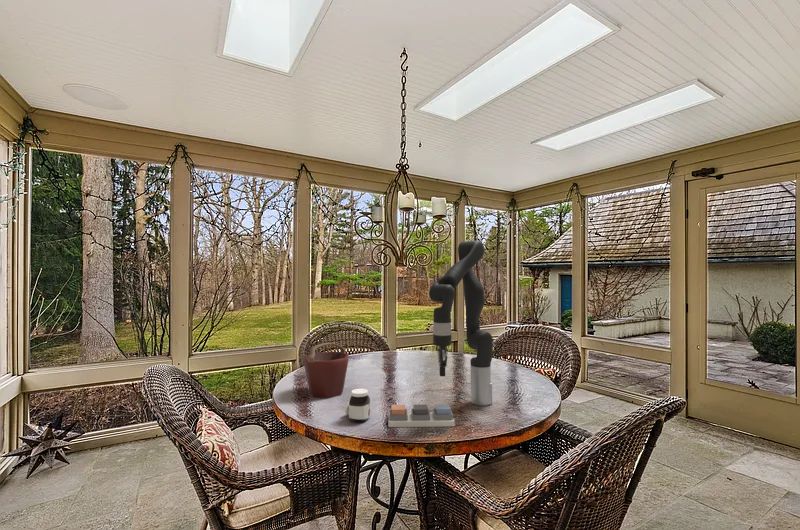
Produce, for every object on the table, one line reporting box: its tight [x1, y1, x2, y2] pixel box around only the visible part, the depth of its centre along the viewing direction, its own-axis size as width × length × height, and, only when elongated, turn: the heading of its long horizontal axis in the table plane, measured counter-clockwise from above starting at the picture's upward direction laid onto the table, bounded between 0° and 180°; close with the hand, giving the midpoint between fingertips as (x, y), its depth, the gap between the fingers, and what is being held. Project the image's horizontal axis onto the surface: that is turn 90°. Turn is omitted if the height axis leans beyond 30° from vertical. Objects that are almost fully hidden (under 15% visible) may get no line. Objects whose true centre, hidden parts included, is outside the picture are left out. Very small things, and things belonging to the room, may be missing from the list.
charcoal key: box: [412, 404, 429, 415], centre depth 156 cm, size 6×6×2 cm
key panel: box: [387, 408, 456, 428], centre depth 156 cm, size 26×10×4 cm, turn 91°
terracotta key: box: [391, 404, 407, 415], centre depth 156 cm, size 6×6×2 cm
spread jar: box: [343, 388, 371, 423], centre depth 161 cm, size 12×11×12 cm
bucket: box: [303, 342, 350, 399], centre depth 194 cm, size 24×22×25 cm
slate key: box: [434, 403, 452, 415], centre depth 156 cm, size 6×6×2 cm
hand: (442, 375), depth 156 cm, fingers closed
